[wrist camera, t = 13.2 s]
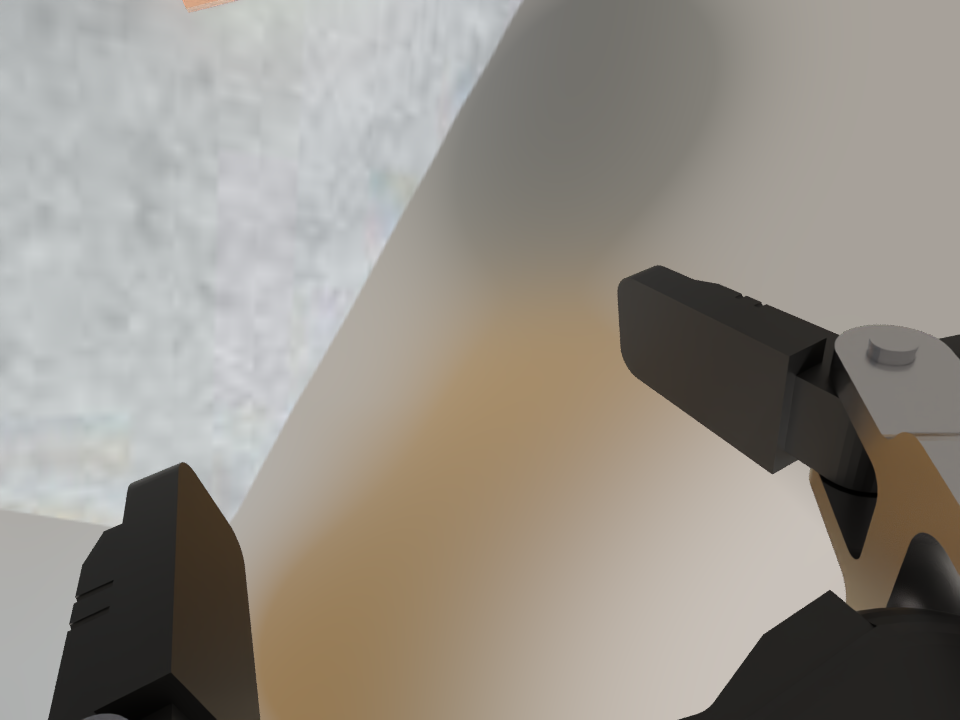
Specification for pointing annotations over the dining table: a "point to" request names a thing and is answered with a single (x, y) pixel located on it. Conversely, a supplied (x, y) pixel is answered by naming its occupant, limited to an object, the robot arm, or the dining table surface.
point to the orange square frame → (203, 4)
